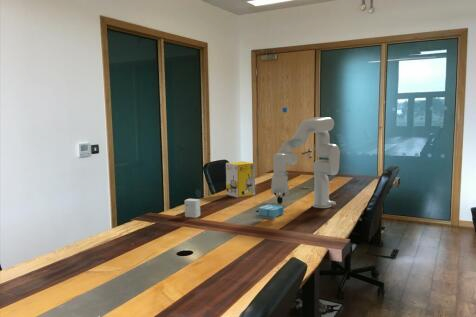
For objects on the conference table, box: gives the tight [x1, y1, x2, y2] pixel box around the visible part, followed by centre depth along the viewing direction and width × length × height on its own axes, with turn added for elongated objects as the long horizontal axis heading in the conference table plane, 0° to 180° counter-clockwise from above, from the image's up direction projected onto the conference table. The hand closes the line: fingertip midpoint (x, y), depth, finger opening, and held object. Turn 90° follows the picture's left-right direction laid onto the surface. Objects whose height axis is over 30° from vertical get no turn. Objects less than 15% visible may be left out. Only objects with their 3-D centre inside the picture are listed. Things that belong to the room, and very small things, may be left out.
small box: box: [184, 198, 201, 218], centre depth 246 cm, size 8×6×10 cm
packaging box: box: [225, 160, 256, 199], centre depth 310 cm, size 16×16×25 cm
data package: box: [258, 204, 284, 217], centre depth 248 cm, size 12×4×12 cm
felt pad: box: [252, 212, 276, 220], centre depth 246 cm, size 13×14×1 cm
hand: (279, 203), depth 242 cm, fingers closed
